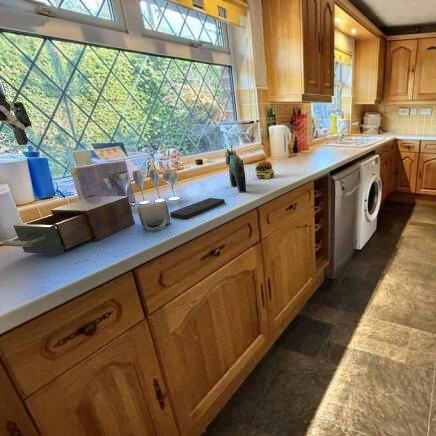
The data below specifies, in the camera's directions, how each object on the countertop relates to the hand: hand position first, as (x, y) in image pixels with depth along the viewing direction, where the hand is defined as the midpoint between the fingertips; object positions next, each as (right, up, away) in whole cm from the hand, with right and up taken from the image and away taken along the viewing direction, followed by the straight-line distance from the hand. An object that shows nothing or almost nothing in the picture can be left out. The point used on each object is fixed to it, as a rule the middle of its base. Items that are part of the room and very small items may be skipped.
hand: (3, 147), depth 74 cm
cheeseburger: (+45, +5, +92) cm, 102 cm away
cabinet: (+7, -22, +22) cm, 32 cm away
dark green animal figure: (+37, -3, +70) cm, 80 cm away
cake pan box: (-7, -13, +47) cm, 49 cm away
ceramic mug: (+24, -20, +25) cm, 40 cm away
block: (+5, -24, +10) cm, 27 cm away
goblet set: (+4, -11, +51) cm, 53 cm away
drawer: (+5, -25, +9) cm, 27 cm away
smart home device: (+31, -14, +40) cm, 53 cm away
